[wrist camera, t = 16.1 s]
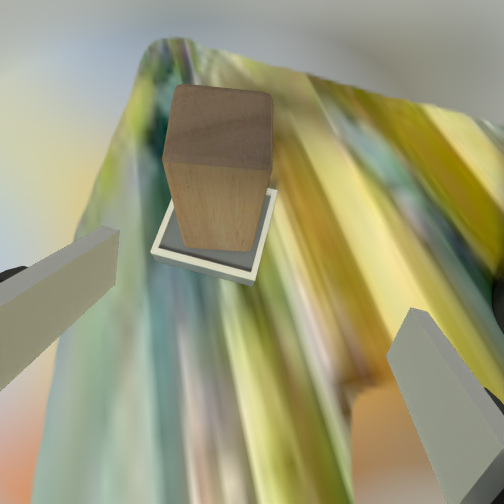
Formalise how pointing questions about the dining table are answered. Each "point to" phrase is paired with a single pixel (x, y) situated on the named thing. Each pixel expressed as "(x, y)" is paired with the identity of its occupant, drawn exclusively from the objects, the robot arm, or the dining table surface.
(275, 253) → the dining table surface
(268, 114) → the block
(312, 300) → the dining table surface
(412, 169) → the dining table surface
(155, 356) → the dining table surface
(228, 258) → the baseplate
